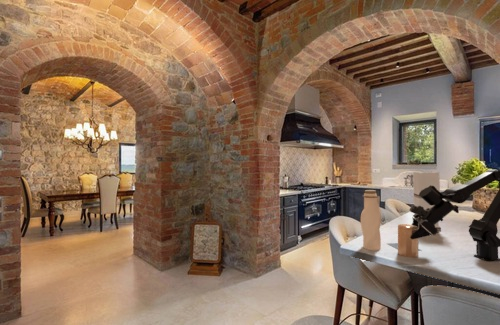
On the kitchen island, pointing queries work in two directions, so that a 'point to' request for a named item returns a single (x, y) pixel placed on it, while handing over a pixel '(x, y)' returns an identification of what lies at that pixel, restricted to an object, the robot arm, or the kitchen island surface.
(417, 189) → the tall white column
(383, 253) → the kitchen island surface
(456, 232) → the kitchen island surface
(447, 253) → the kitchen island surface
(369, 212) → the water bottle
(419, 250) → the slate mat
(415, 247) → the brown tapered cup
